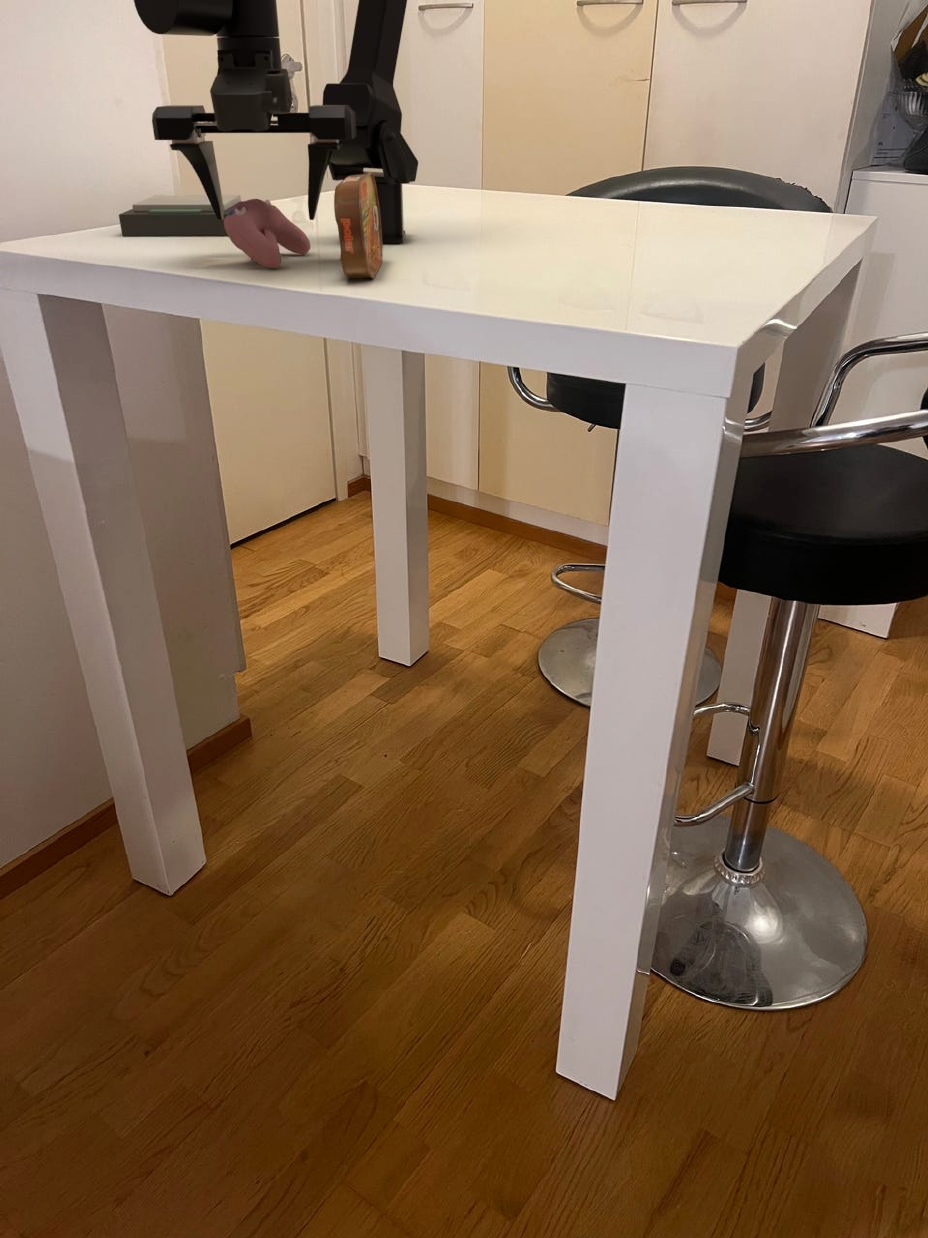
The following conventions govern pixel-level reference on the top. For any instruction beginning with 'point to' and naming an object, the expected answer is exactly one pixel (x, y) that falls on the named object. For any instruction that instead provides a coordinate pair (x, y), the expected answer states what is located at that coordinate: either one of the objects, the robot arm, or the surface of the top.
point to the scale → (176, 216)
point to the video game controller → (264, 232)
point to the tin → (359, 225)
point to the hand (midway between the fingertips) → (266, 219)
